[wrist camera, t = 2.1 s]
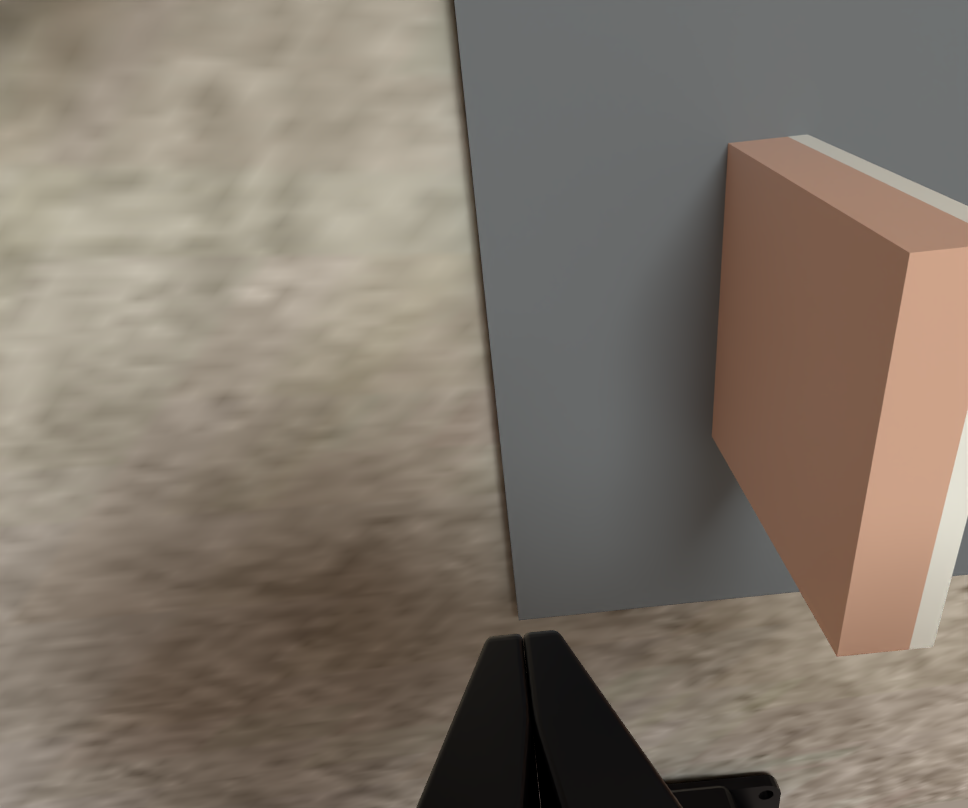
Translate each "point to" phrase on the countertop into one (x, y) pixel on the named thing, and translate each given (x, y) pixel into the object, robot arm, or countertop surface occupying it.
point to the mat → (659, 255)
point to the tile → (847, 382)
